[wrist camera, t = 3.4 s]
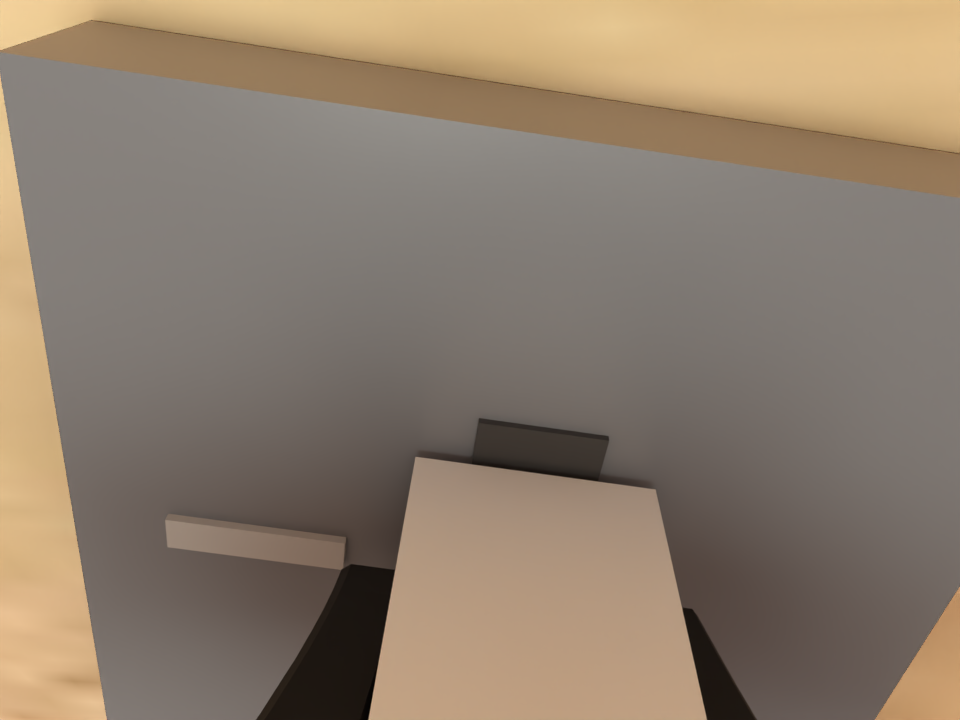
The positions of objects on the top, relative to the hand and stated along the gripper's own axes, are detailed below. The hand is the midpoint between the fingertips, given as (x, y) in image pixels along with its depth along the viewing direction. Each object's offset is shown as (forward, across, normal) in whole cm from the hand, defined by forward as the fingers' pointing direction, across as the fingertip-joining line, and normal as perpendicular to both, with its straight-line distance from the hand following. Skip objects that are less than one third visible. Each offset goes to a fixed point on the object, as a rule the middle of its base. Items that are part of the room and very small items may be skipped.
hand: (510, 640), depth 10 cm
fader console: (+3, 0, +7) cm, 8 cm away
